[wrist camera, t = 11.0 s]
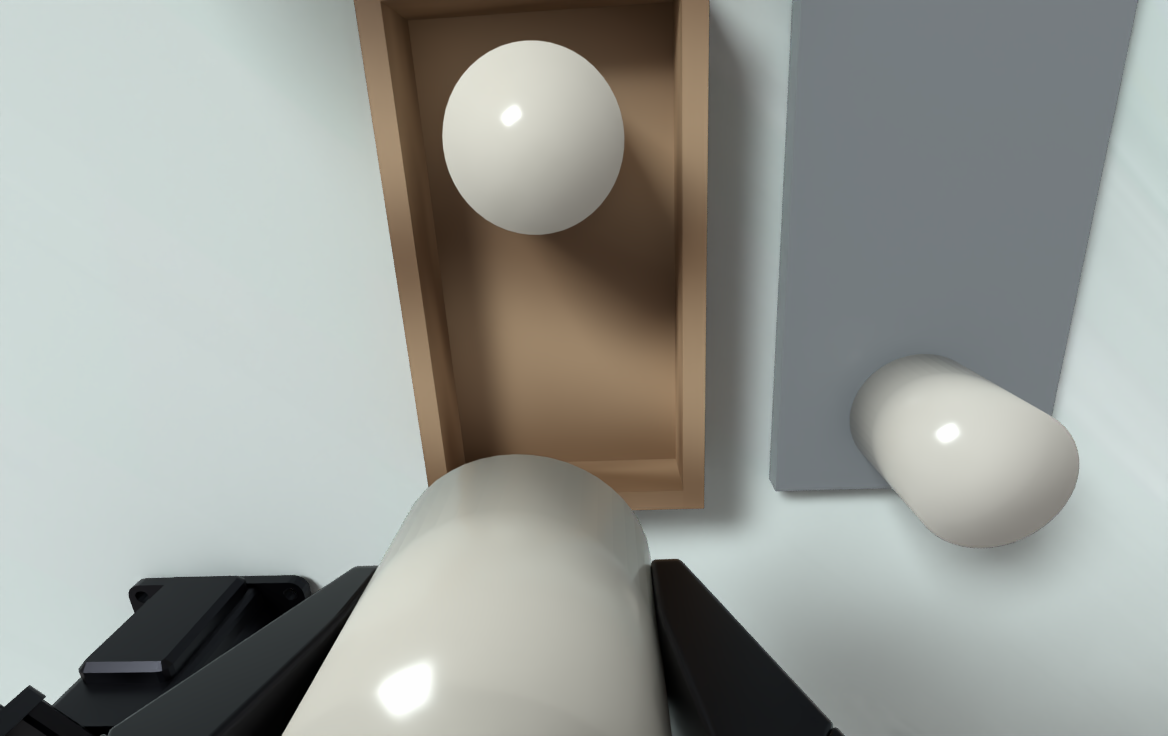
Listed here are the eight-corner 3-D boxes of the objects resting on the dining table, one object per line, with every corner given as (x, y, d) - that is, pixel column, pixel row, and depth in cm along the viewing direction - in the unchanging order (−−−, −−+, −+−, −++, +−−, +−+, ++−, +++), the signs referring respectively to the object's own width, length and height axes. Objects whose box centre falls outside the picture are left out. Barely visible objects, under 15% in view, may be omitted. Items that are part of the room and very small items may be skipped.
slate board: (1020, 471, 20) (1037, 484, 19) (769, 478, 20) (775, 491, 19) (1128, -78, 15) (1156, -91, 14) (794, -53, 15) (804, -64, 14)
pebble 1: (629, 208, 17) (637, 216, 13) (497, 234, 17) (467, 250, 13) (604, 60, 16) (606, 21, 12) (463, 91, 16) (421, 62, 12)
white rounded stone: (970, 468, 19) (1061, 546, 15) (844, 472, 19) (903, 549, 15) (989, 351, 17) (1094, 403, 14) (855, 356, 18) (922, 409, 14)
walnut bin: (692, 467, 20) (704, 508, 18) (453, 474, 20) (432, 515, 18) (694, -22, 15) (709, -56, 13) (388, 0, 16) (349, -28, 14)
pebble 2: (651, 670, 10) (682, 1000, 6) (414, 670, 10) (292, 992, 6) (651, 451, 8) (689, 685, 5) (381, 457, 9) (202, 686, 5)
